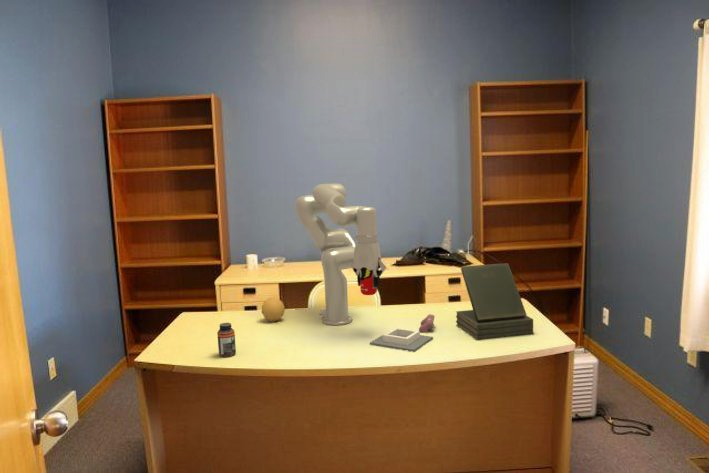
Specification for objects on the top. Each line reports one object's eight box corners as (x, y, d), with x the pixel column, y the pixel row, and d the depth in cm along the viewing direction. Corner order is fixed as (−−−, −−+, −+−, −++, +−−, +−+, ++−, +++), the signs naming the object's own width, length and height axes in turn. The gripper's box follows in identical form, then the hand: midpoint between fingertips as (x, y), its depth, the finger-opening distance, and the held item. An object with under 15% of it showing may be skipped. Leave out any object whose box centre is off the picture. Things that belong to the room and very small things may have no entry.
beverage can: (367, 291, 205) (366, 261, 204) (380, 293, 201) (379, 262, 200) (357, 294, 201) (356, 263, 199) (370, 296, 197) (369, 265, 195)
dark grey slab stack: (476, 341, 192) (475, 274, 189) (456, 326, 211) (455, 265, 208) (533, 335, 196) (533, 269, 193) (508, 321, 215) (508, 261, 212)
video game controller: (428, 336, 203) (436, 321, 202) (417, 331, 204) (425, 316, 202) (429, 329, 213) (437, 314, 211) (419, 324, 213) (427, 309, 212)
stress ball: (285, 324, 225) (291, 305, 232) (274, 311, 219) (280, 292, 226) (266, 326, 229) (271, 307, 236) (254, 313, 223) (261, 294, 229)
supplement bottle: (220, 352, 189) (218, 322, 188) (237, 351, 189) (235, 321, 188) (217, 358, 183) (215, 326, 182) (234, 357, 184) (232, 325, 182)
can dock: (369, 344, 192) (369, 335, 191) (390, 332, 205) (390, 324, 204) (414, 352, 182) (414, 342, 181) (433, 338, 195) (432, 330, 195)
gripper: (342, 240, 200) (344, 286, 202) (382, 241, 191) (383, 290, 193) (353, 237, 206) (354, 282, 208) (391, 239, 197) (393, 286, 199)
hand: (368, 285), depth 201 cm, fingers closed on beverage can, 6 cm apart
